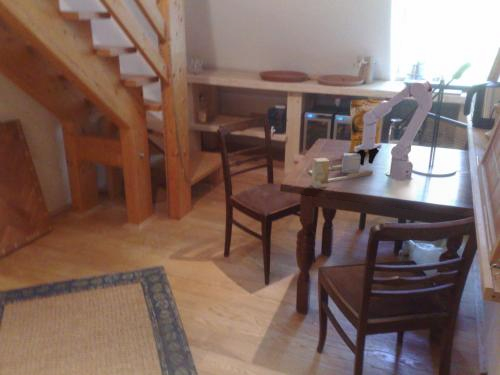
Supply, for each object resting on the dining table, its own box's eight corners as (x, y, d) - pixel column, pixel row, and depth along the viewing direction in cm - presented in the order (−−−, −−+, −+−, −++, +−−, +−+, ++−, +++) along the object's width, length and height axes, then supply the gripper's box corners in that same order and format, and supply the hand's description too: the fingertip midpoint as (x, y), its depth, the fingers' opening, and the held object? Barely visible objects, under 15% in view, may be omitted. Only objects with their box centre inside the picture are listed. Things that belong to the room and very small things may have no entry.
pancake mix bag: (343, 149, 242) (348, 99, 231) (376, 148, 245) (382, 98, 234) (348, 153, 236) (352, 101, 225) (381, 151, 239) (387, 100, 228)
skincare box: (314, 188, 189) (316, 161, 185) (310, 184, 193) (312, 158, 189) (328, 187, 191) (330, 160, 186) (324, 183, 195) (325, 157, 190)
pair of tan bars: (372, 174, 206) (372, 171, 205) (347, 178, 201) (348, 175, 200) (355, 165, 217) (355, 162, 217) (331, 169, 212) (331, 166, 212)
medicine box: (358, 170, 211) (359, 153, 207) (359, 173, 206) (361, 156, 203) (341, 169, 211) (342, 152, 208) (342, 173, 207) (343, 155, 204)
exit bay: (347, 178, 200) (347, 176, 200) (324, 182, 196) (325, 180, 195) (330, 169, 212) (330, 167, 212) (308, 172, 208) (308, 170, 207)
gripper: (375, 133, 212) (372, 159, 217) (351, 136, 207) (348, 163, 212) (385, 136, 206) (382, 164, 211) (360, 140, 201) (357, 167, 206)
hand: (365, 164), depth 211 cm, fingers open, 5 cm apart
